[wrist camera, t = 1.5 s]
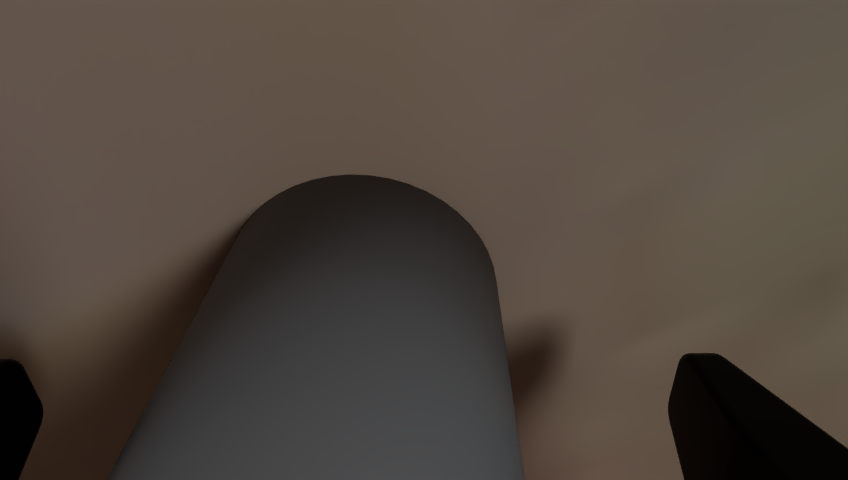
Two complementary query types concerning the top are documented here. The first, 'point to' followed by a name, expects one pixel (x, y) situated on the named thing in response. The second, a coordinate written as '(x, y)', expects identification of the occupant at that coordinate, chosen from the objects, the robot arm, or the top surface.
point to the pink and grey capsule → (339, 350)
